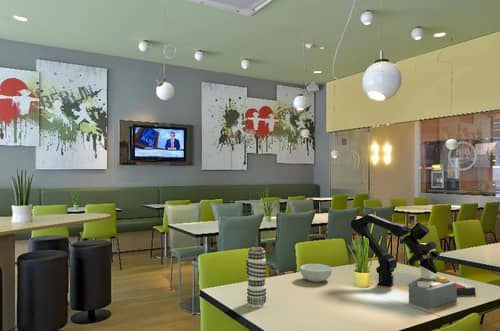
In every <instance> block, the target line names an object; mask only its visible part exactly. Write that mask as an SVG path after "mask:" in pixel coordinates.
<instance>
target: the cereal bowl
mask: <svg viewBox="0 0 500 331" xmlns="http://www.w3.org/2000/svg"><path fill="white" fill-rule="evenodd" d="M299 271H300V274H301V276H302V278H304V279H305V280H308V281H309V280H310V281H309V282H311V281H313V282H312V283H322V282H323V281H327V280H328V279H329V278H330V277H331V275H332V272H333V269H332V267H331V266H329V265H326V264H323V263H322V264H321V263H306V264H302V265H301V266H300V267H299ZM321 281H322V282H321Z"/></svg>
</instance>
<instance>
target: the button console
mask: <svg viewBox="0 0 500 331" xmlns="http://www.w3.org/2000/svg"><path fill="white" fill-rule="evenodd" d="M424 281H425V282H429V283H430V288H426V289H425V288H421V287H417V282H413V283H410V284H408V303H409V304H412V305H415V306H419V307H421V308H424V309H428V310H432V309H435V308H438V307H440V306H443V305H447V304H450V303H453V302H456V301H457V300H458V297H457V286H456V282H457V281H452V280H448V283H440V282H436V277H434V278H431V279H425V280H424Z"/></svg>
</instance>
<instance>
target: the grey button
mask: <svg viewBox="0 0 500 331" xmlns="http://www.w3.org/2000/svg"><path fill="white" fill-rule="evenodd" d="M416 283H417V287H421V288H425V289H426V288H430V283H429V282H425V280H420V281H419V280H418V281H417V282H416Z"/></svg>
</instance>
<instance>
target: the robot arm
mask: <svg viewBox="0 0 500 331" xmlns="http://www.w3.org/2000/svg"><path fill="white" fill-rule="evenodd" d="M369 224H373V225H375V226H378V227H380V228H382V229H385V230H387V231H389V232H390V233H391V234H392V235H393V236H395V237H398V238H400V240H399V244H400V245H404V244H405V246H406V247H407V249H409V251H408V252H409V253H410V254H413V255H412V256H411V257H410V258H409V259H408V260H407V263H408V265H409V266H410V267H413V266H415V264H416V262H418V261H419V262H418V267H419V266H421V267H423V268H426V269H427V270H429V271H431V272H432V273H433V274H437V273H438V270H437V268H436V265H435V263H434V262H435V260H436V259H437V258H438V257H439V256H440V255H441V253H440V252H439V251H438V250H435V251H431V252H430V250H433V249H437V246H438V244H437V243H436V242H435V241H434V240H431V241H428V243H424V244H425V245H424V244H420V242H419V241H422V240H423V239H424V238H425V237H426V236H427V235H428V234H430V229H429V228H428V227H427V226H426V225H425V224H423V223H421V222H417V223H415V225H414V226H413V227H409V226H408V225H407V224H402V223H398V222H392V221H389V220H387V219H385V218H382V217H380V216H377V215H374V214H373V213H368V214H365V215H363V216H362V217H359V218H356V219H352V220H351V222H350V227H351V229H352V230H353V231H354V232H355V234H358V235H360V236H361V237H362V238H363V236H365V237H366V238H368V239H369V245H368V247H369V248H370V249H371V250H372V252H373V253H374V255H375V256H376V257H377V263H378V264H379V266H377V267H376V268H375V271H376V273H377V274H378V282H377V285H379V286H385V287H392V286H393V285H394V275H393V272H394V271H395V269H397V267H398V266H397V265H398V262H397V259H396V258H395V256H394V255H393V254H392V253H391V252H390V253H387V252H386V251H385V250H384V249H383V248H382V246H381V245H380V244H379V242H378V241H377V240H376V239H375V238H374V236H373V235H372V234H371V232H370V230H369V226H368V225H369ZM401 237H402V238H401ZM418 240H419V241H418ZM429 252H430V253H429ZM428 253H429V254H428ZM433 261H434V262H433ZM419 263H420V264H419Z"/></svg>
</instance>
